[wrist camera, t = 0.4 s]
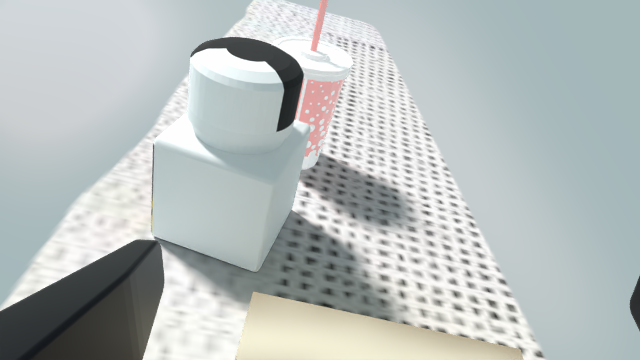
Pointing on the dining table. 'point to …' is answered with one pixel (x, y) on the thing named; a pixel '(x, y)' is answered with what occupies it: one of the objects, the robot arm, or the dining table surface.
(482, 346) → the wood pedestal
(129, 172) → the dining table surface
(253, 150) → the medicine bottle
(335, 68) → the beverage cup
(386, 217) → the dining table surface
